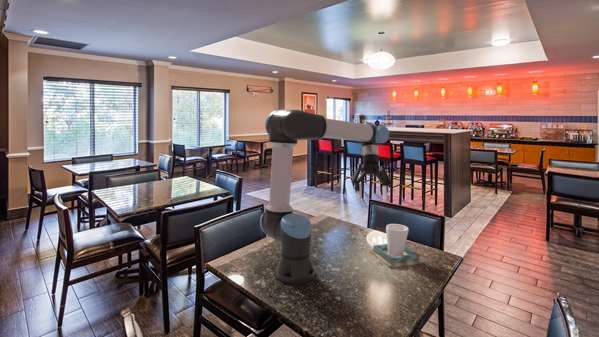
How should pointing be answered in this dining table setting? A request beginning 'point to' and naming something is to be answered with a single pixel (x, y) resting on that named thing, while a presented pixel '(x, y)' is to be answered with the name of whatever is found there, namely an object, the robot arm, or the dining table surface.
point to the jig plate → (407, 259)
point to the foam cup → (396, 239)
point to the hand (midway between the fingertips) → (372, 199)
